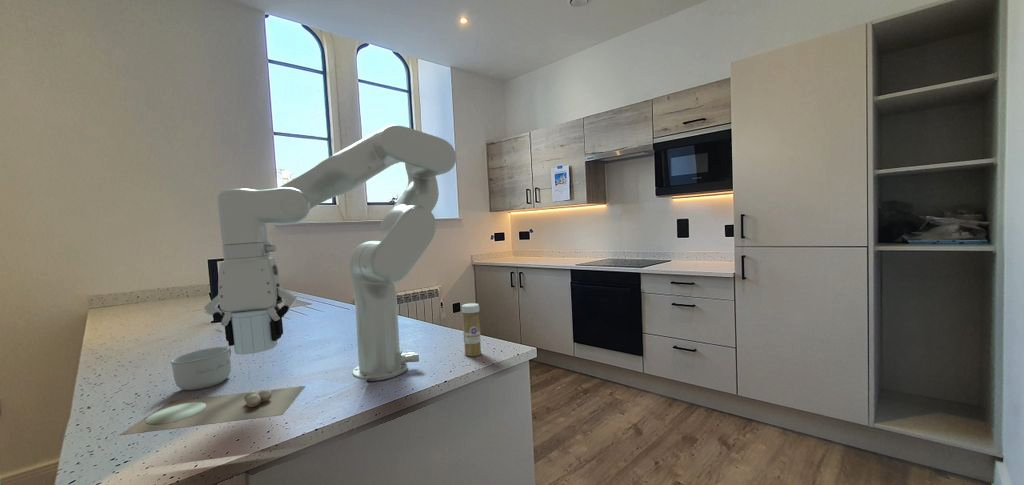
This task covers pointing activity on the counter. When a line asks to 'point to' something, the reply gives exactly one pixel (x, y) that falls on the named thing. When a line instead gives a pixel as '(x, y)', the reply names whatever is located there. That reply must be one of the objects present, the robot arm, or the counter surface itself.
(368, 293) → the robot arm
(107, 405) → the counter surface
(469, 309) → the sprinkles bottle
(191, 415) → the brown board
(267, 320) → the blue cup
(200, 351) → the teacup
